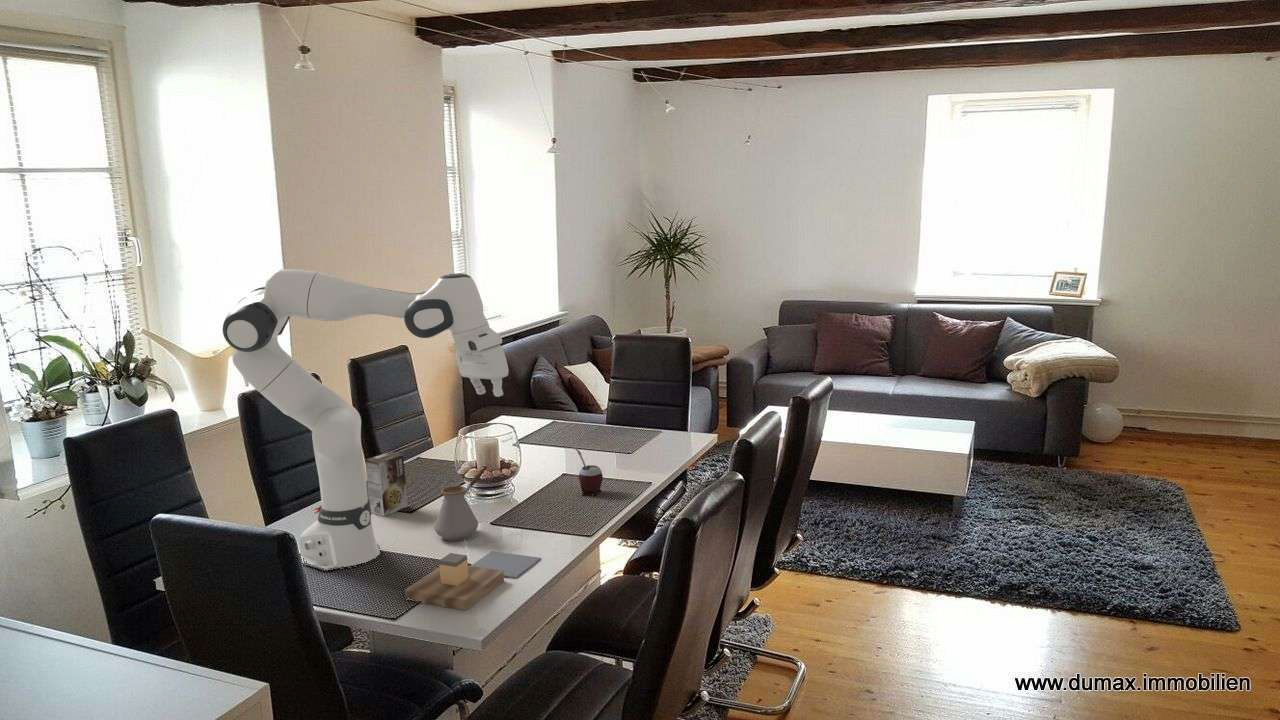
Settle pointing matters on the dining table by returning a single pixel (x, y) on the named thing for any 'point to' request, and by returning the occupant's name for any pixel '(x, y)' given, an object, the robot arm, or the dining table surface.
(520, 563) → the slate mat
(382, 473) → the coffee box
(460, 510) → the coffee pot
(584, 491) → the mate gourd
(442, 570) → the plug
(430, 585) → the wooden socket board
